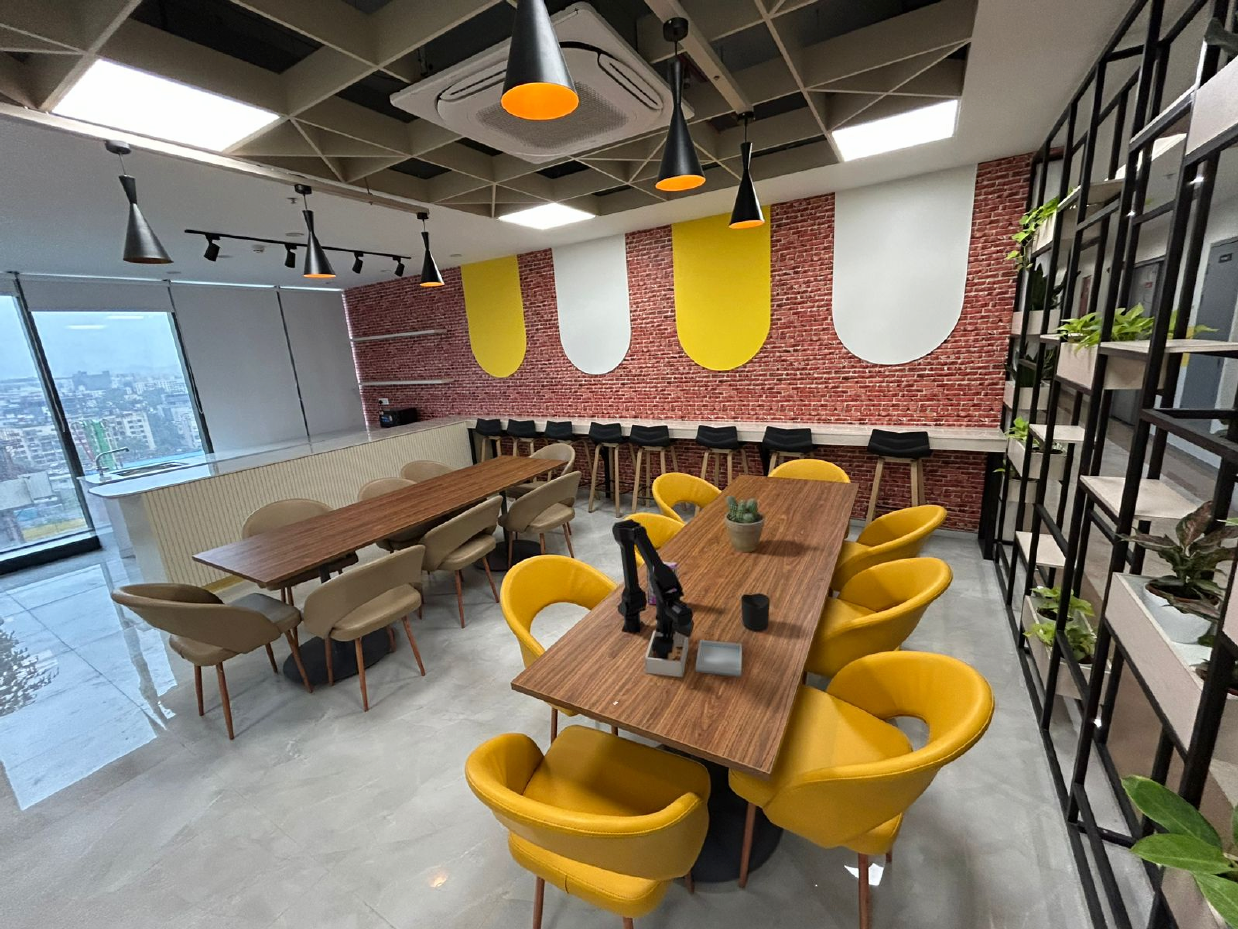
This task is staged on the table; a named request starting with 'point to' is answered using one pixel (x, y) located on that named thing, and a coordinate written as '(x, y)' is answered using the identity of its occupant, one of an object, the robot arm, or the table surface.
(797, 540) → the table surface
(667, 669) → the grey rectangular frame
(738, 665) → the tray
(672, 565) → the candy bar box
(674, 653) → the ball
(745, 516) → the potted plant
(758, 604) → the pen holder
